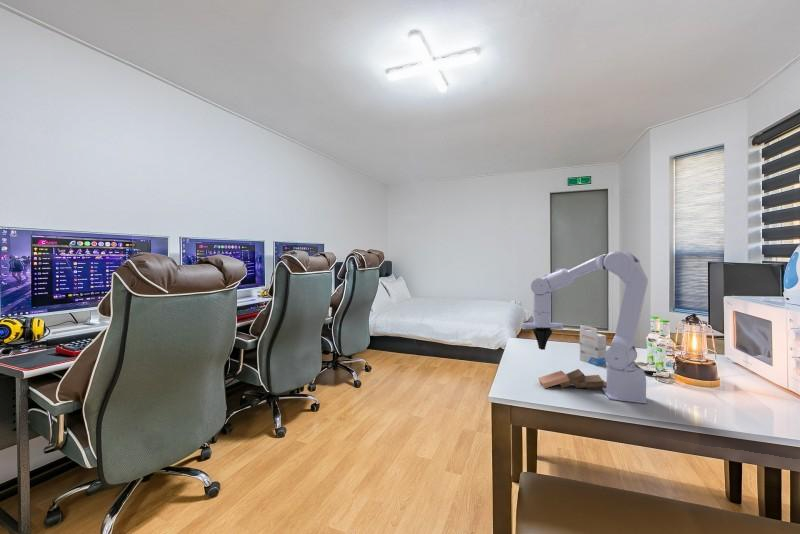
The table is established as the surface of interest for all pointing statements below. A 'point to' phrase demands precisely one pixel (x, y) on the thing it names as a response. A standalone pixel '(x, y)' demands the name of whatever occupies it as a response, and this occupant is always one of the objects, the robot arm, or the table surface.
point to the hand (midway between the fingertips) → (541, 348)
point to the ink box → (592, 346)
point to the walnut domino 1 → (573, 378)
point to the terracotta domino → (553, 379)
